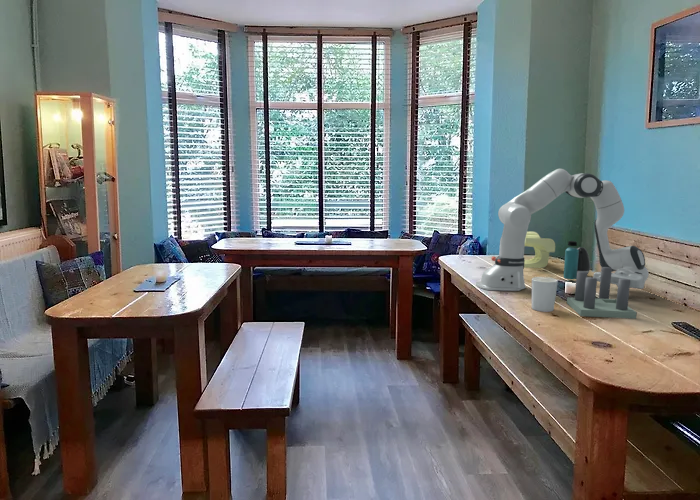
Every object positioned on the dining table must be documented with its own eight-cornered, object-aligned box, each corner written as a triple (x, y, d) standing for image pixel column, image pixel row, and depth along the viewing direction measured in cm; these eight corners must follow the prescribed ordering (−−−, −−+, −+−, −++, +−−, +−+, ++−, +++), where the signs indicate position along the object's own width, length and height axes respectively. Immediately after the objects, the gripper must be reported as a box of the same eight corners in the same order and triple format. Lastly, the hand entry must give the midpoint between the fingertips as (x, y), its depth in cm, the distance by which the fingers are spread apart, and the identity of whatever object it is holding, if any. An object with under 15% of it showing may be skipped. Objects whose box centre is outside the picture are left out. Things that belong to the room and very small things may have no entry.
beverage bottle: (578, 282, 270) (581, 242, 266) (563, 282, 271) (566, 241, 268) (575, 280, 276) (578, 240, 273) (561, 279, 277) (564, 240, 274)
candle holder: (555, 307, 222) (557, 278, 220) (555, 313, 213) (558, 283, 211) (529, 305, 225) (531, 276, 223) (529, 310, 216) (531, 280, 214)
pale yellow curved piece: (553, 270, 299) (555, 238, 297) (523, 270, 300) (525, 237, 297) (537, 261, 329) (539, 231, 326) (510, 260, 330) (512, 231, 327)
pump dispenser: (568, 276, 284) (570, 247, 281) (568, 273, 293) (570, 245, 291) (589, 278, 280) (592, 249, 278) (589, 274, 290) (591, 246, 287)
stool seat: (636, 318, 207) (639, 282, 205) (580, 316, 209) (583, 280, 207) (617, 305, 227) (620, 271, 224) (566, 303, 229) (569, 270, 227)
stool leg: (602, 301, 233) (605, 268, 231) (596, 298, 237) (599, 266, 235) (610, 301, 234) (613, 268, 232) (605, 298, 238) (608, 266, 235)
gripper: (602, 267, 253) (586, 270, 244) (648, 274, 237) (633, 278, 228) (601, 280, 254) (585, 284, 245) (647, 289, 238) (632, 293, 229)
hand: (609, 281), depth 237 cm, fingers open, 8 cm apart
